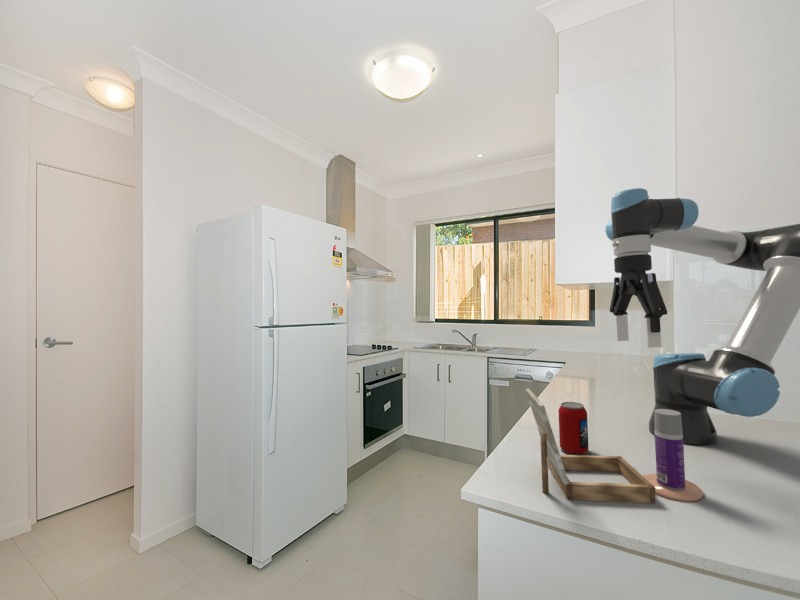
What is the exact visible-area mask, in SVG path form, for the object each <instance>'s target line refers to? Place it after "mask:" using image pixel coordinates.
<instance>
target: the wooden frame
mask: <svg viewBox="0 0 800 600" xmlns="http://www.w3.org/2000/svg"><path fill="white" fill-rule="evenodd" d="M525 392H526V394H527V397H528V401H529V402H528V403H529V405H530V408H531V412H532V415H533V417H534V421H535V424H536V427H537V429H538V432H539V433H538V434H539V436H540V438H539V439H540V457H541V459H540V462H541V483H542V484H541V487H542V491H541V492H542V493H543V494H546V495H547V494H550V493H549V492H550V490H549V489H550V487H549V471H550V473H551V474H552V476H553V477H554V480H555V481H556V482H557V484H558V486H559V487H560V490H561V491H562V493H563V494H564V496H565V498H566V499H567V500H569V501H571V500H572V501H593V502H594V501H595V502H617V503H618V502H619V503H639V504H641V503H642V504H643V503H645V504H657V498H656V496H657V495H656V494H655V487H654V486H653V485H652V484H651V483H650V482H649V481H648V480H646V479H645V478H644V477H643V476H644V475H642V474H641V473H640V472H639V471H638V470H637V469H635V468H634V467H633V465H632V464H630V463H629V462H628V461H626V459H624V458H623V457H622V456H620V455H611V456H610V455H584V454H582V455H574V454H560V451H559V448H558V445H557V441H556V438H555V435H554V432H553V428H552V426H551V422H550V420H549V416H548V413H547V411H546V407H545V405H544V403H543V402H542V401H541V400H540V399H539V398H538V397H537V396H536V395H535V394H534V392H533V391H532V390H531V389H530V388H525ZM566 471H593V472H594V471H597V472H619V474H621V475H622V476H623V477H624V478H625V480H626V481H628V482H629V483H617V482H616V483H615V482H614V483H612V482H587V481H586V482H582V481H581V482H580V481H571V480H570V478H569V477H568V475H567V472H566Z"/></svg>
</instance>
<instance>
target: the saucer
mask: <svg viewBox="0 0 800 600" xmlns="http://www.w3.org/2000/svg"><path fill="white" fill-rule="evenodd" d="M642 476H643V477H644V478H645V479H646V480H648V481H649V482H650V483H651V484H652V485H653V486H654V487H655V495H656V496H660V497H661V498H664V499H669V500H671V501H677V502H690V503H691V502H699V501H701V500H702V499H703V498H704V492H703V490H702V489H701V487H700V486H698V485H697V484H695V483H694V482H692V481H689V480H687V479H685V490H683V491H673V490H669V489H666V488H663V487H661V486H660V485H658V483H657V473H649V474H645V475H642Z"/></svg>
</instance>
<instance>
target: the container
mask: <svg viewBox="0 0 800 600" xmlns="http://www.w3.org/2000/svg"><path fill="white" fill-rule="evenodd" d="M653 410H654V409H653ZM654 423H655V435H654V445H655V446H654V448H655V468H656V469H655V470H656V473H655V474H657V483H658V485H660V486H661V487H663V488H666V489H669V490H673V491H683V490H685V480H686V473H685V472H686V471H685V456H684V455H685V451H684V450H685V449H684V448H685V447H684V443H683V432H682V419H681V413H680V412H678V411H674V410H669V409H656V410H654Z"/></svg>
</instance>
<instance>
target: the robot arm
mask: <svg viewBox="0 0 800 600" xmlns="http://www.w3.org/2000/svg"><path fill="white" fill-rule="evenodd" d="M649 197H650V196H649V194H648V190H647V189H646V188H641V187H637V188H630V189H624V190H621V191H618V192H617V193H614V195H613V196H612V197H611V202H610V205H611V206H610V214H611V218H610V219H609V220H608V221H607V223H606V225H605V234H606V237H607V238H608V239H609V240H610V241H611V242H612V243H611V247H612V248H613V255H614V256H615V258H614V259H613V262H614V265H613V266H614V272H615V273H616V274H620V275H621V276H617V277H614V278H613V291H612V296H611V301H610V307H609V312H610V313H612V314H613V316H614V324H615V325H614V326H615V341H616V342H627V341H628V342H629V341H630V340H629V323H628V322H629V321H628V320H629V319H628V315H629V313H628V311H627V310H628V308H629V305H630V304H631V303H630V302H631V300H632V298H633V297H634V296H636V298H637V299H638V302H639V303H640V305H641V306H642V307H641V308H643V309H642V310H643V311H644V312H645V315H644V317H643V318H644V332H645V346H646V348H662V335H661V334H662V333H661V318H662V317H663V316H665V315H668V310H667V308H666V305H665V302H664V299H663V295H662V294H661V290H660V288H659V285H658V281H657V276H656V273H655V272H651V273H649V272H648V271H651V270H652V269H653V263H652V255H651V254H649V253H651V252H652V246H655V247H659V248H663V249H668V250H674V251H677V252H682V253H685V254H686V253H687V254H692V255H695V256H702V257H706V258H710V259H712V260H714V261H715V262H716V263H718V264H721V265H726V266H731V267H735V268H741V269H746V270H753V271H758V272H759V271H760V272H761V271H762V272H766V273H765V275H764V277H763V279H762V280H761V282H760V284H759V286H758V288H757V290H756V291H755V293H754V295H753V297H752V298H751V300H750V302H749V304H748V306H747V307H746V309H745V311H744V313H743V314H742V316H741V318H740V320H739V322H738V323H737V326H736V327H735V328H734V330H733V333H732V335H731V336H730V338H729V340H728V341H727V343H726V345H725V346H724V347H721V348H716V349H714V351H713V352H712V354H711V356H710V357H709V360H707V357H706V356H705V354H704V353H700V352H698V353H697V352H695V353H694V352H693V353H692V352H689V353H685V352H684V353H683V352H681V353H679V352H678V353H663V354H662V353H661V354H657V355H655V356H654V357H653V367H652V371H653V384H654V385H653V387H654V388H653V389H654V403H655V404H654V408H653V409H652V413H651V416H650V418H649V421H648V431H649V432H650V433H651V434H652V435H654V436H655V423H654V410H656V409H669V410H674V411H678V412H680V413H681V419H682V432H683V444H687V445H694V446H695V445H698V446H699V445H700V446H701V445H702V446H703V445H712V444H715V443H717V442H718V432H717V430H716V428H715V427H716V426H715V425H714V422H713V421H712V419H711V415H710V414H709V411H708V408H712V409H715V410H718V411H721V412H724V413H726V414H729V415H736V416H741V417H746V418H750V417H751V418H752V417H758V416H763V415H764V414H766V413H767V412H769V411H770V410H771V409H773V408H774V407H775V405H776V404H777V402H778V401H779V398H780V393H781V392H780V390H779V388H781V387H780V382H779V379H778V378H777V377H776V376H775V373H776V369H775V368H774V367H773V366H772V364H771V363H772V361H773V359H774V357H775V356H776V353H777V352H778V349H779V348H780V347H781V344H782V342H783V340H784V339H785V337H786V335H787V333H788V331H789V329H790V328H791V325H792V324H793V322H794V320H795V318H796V317H797V314H798V313H799V311H800V223H796V224H791V225H790V224H789V225H783V226H778V227H772V228H767V229H761V230H757V231H756V230H755V231H747V232H745V231H738V230H729V231H719V230H715V229H711V228H706V227H702V226H696V225H695V223H696V221H697V220H698V218H699V216H700V215H699V212H700V211H699V206H698V204H697V203H696V202H695V201H694V199H690V198H682V197H676V198H649ZM646 272H648V273H646Z"/></svg>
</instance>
